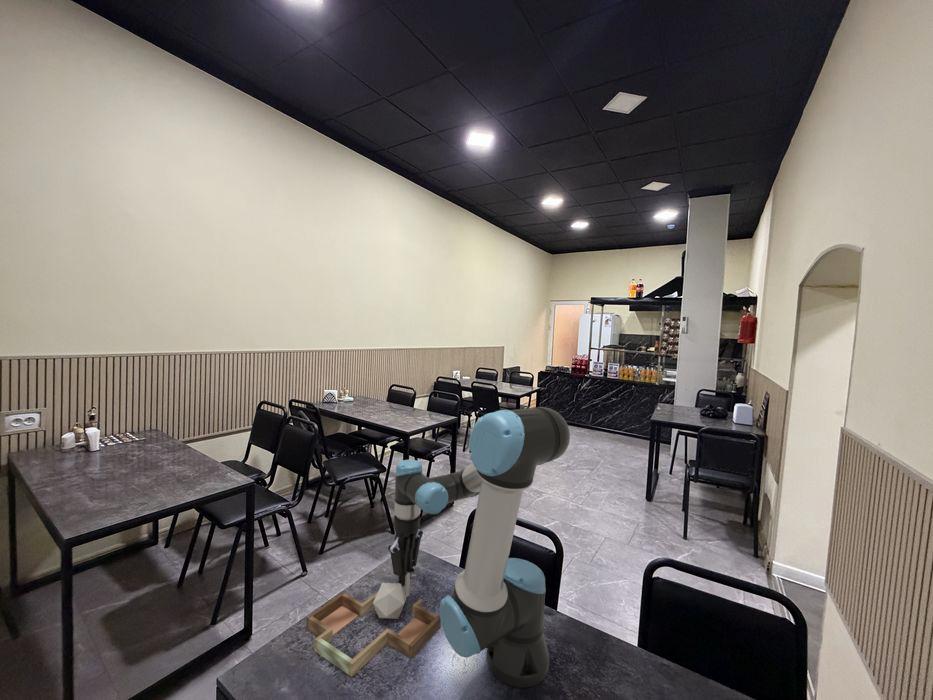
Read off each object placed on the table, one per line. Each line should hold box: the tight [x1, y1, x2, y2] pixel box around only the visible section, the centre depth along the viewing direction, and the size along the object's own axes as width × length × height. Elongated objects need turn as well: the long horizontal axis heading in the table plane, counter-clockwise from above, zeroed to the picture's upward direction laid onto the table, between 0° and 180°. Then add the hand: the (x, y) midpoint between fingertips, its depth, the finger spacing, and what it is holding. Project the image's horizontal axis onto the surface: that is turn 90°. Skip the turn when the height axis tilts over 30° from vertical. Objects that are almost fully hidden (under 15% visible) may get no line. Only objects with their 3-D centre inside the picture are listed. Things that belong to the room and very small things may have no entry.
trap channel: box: [305, 591, 441, 678], centre depth 101 cm, size 29×26×3 cm
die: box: [373, 582, 407, 620], centre depth 107 cm, size 8×9×10 cm
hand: (404, 594), depth 112 cm, fingers closed
